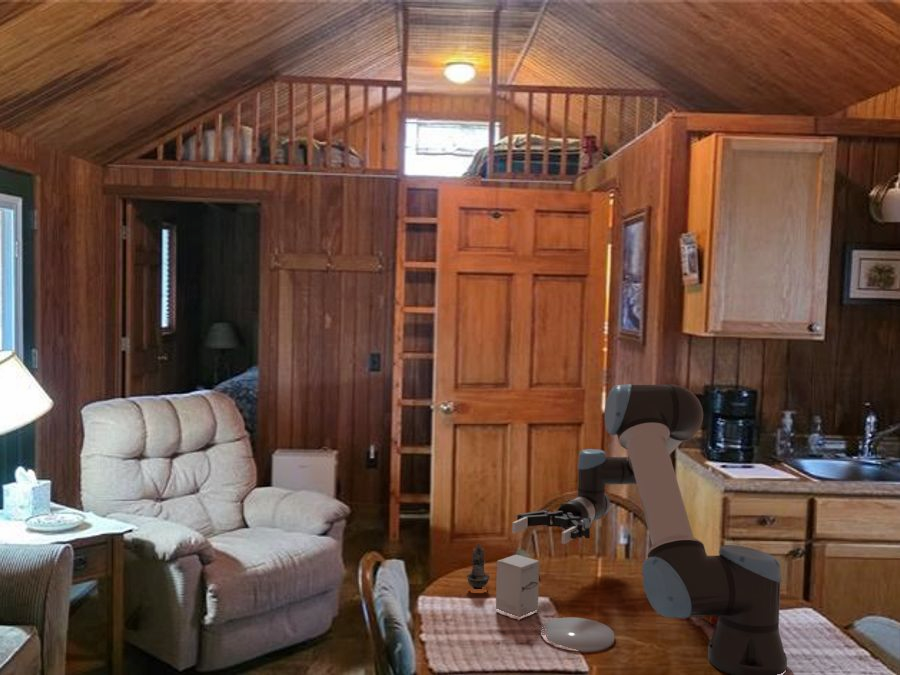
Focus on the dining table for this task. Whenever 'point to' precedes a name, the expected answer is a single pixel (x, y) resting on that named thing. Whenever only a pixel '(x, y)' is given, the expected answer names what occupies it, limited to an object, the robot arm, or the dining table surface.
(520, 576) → the supplement box
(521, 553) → the medication box
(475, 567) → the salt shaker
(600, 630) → the plate
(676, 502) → the robot arm
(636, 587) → the dining table surface
